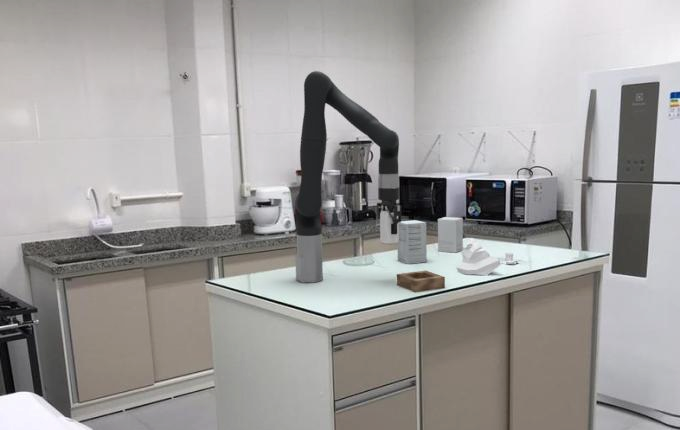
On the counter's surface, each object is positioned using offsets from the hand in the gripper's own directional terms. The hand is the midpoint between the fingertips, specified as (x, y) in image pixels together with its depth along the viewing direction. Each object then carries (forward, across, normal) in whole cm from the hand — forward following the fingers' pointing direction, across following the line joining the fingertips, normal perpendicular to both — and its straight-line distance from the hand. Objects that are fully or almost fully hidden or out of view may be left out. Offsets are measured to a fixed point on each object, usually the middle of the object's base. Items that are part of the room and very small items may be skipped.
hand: (389, 232), depth 213 cm
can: (+4, 0, 0) cm, 4 cm away
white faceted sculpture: (+18, +4, +35) cm, 40 cm away
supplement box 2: (+18, -38, +54) cm, 68 cm away
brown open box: (+18, +12, +5) cm, 22 cm away
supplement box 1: (+18, -26, +26) cm, 41 cm away
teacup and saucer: (+19, -4, +55) cm, 58 cm away
